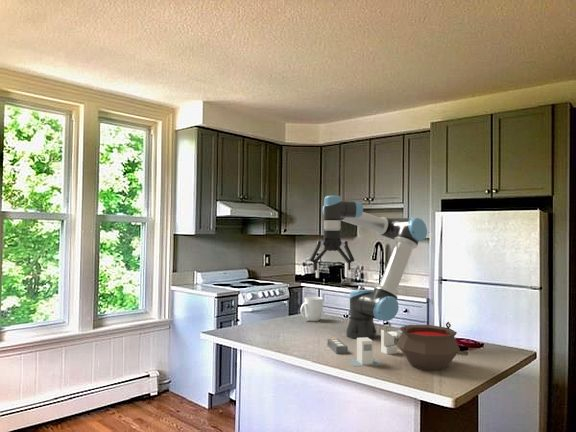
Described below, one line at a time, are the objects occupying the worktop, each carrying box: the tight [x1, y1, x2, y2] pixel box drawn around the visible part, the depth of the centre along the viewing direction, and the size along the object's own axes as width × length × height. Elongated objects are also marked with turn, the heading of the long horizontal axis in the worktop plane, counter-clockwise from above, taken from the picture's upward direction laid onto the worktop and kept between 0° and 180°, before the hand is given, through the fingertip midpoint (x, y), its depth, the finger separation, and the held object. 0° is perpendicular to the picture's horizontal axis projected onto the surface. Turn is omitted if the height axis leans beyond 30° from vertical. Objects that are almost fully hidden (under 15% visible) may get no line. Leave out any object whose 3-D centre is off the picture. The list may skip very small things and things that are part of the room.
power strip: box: [326, 337, 349, 355], centre depth 203 cm, size 5×20×4 cm, turn 11°
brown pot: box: [396, 321, 461, 371], centre depth 179 cm, size 24×24×16 cm
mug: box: [299, 296, 324, 322], centre depth 267 cm, size 15×11×13 cm
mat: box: [346, 357, 384, 367], centre depth 180 cm, size 12×9×1 cm
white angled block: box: [380, 329, 398, 355], centre depth 196 cm, size 4×10×9 cm, turn 117°
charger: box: [356, 337, 374, 365], centre depth 181 cm, size 4×7×9 cm, turn 11°
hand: (332, 277), depth 203 cm, fingers open, 13 cm apart
